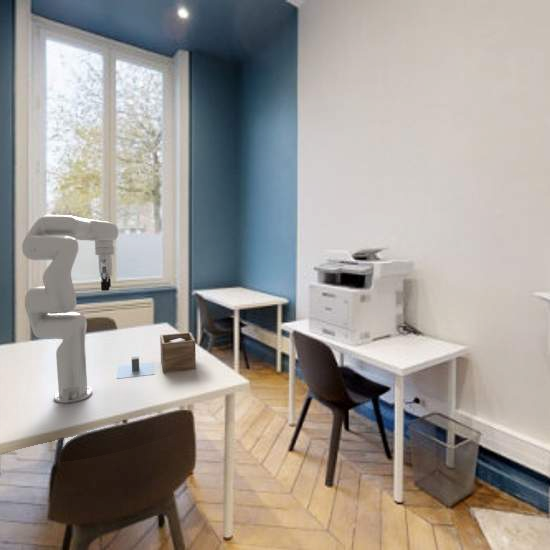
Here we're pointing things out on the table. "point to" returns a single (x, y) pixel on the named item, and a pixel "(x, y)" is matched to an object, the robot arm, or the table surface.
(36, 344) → the table surface
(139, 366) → the lid
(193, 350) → the walnut box
